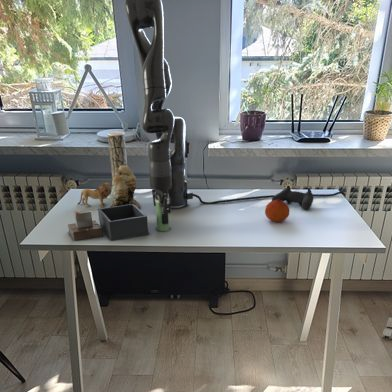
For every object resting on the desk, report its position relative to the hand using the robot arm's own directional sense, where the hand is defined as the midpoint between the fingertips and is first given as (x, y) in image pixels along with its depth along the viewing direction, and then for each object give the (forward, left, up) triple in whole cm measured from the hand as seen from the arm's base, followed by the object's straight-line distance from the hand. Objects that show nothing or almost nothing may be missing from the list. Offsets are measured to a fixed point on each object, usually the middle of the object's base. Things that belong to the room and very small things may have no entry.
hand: (162, 221), depth 181 cm
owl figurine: (+6, -28, -3) cm, 29 cm away
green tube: (0, 0, -3) cm, 3 cm away
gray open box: (+13, -5, -3) cm, 15 cm away
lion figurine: (+15, -38, -3) cm, 41 cm away
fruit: (-42, +10, -3) cm, 43 cm away
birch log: (+1, -49, -3) cm, 49 cm away
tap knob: (+27, -7, 0) cm, 28 cm away
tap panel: (+27, -7, -3) cm, 28 cm away
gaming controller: (-58, -3, -3) cm, 58 cm away
